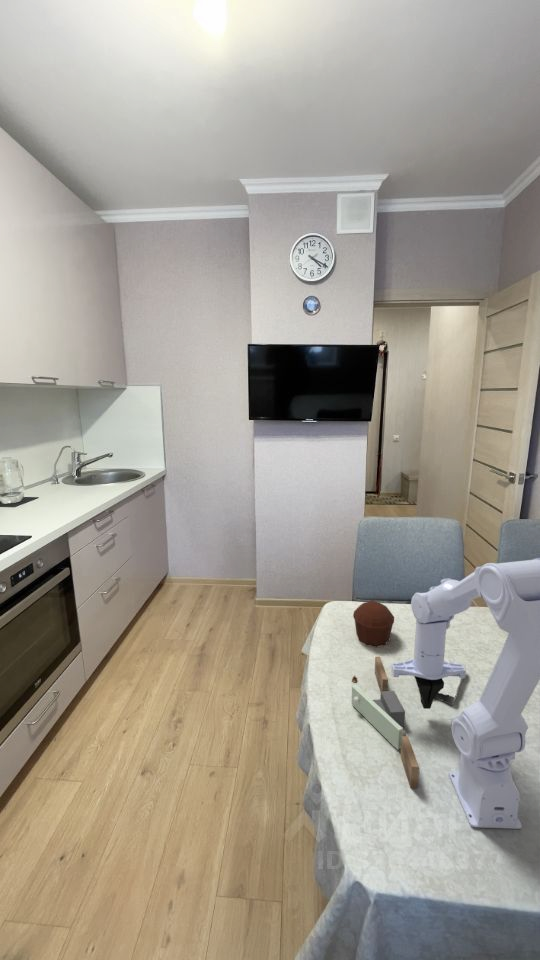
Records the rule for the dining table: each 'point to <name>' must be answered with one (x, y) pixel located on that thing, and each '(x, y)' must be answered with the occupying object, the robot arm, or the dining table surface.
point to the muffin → (373, 623)
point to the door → (377, 717)
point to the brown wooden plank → (406, 748)
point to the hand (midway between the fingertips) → (425, 705)
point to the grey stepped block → (392, 706)
